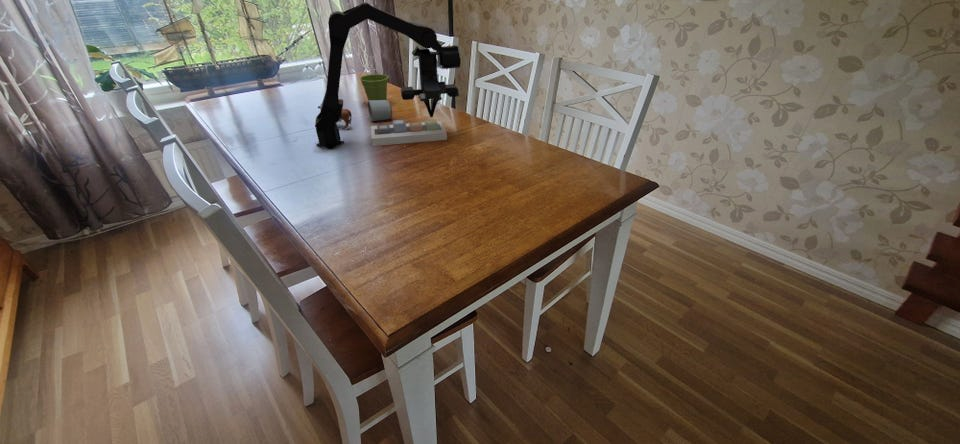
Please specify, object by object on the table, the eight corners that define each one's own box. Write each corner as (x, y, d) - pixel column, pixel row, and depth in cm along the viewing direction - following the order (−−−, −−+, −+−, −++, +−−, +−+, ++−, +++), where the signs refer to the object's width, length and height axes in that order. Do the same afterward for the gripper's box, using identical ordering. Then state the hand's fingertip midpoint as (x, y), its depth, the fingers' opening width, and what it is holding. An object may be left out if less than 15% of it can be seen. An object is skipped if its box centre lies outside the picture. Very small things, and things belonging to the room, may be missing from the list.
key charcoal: (378, 138, 127) (377, 129, 126) (378, 133, 131) (376, 125, 129) (391, 137, 128) (390, 128, 127) (390, 132, 132) (389, 124, 130)
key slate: (394, 133, 128) (393, 124, 126) (393, 128, 131) (392, 120, 129) (406, 132, 129) (405, 123, 127) (405, 127, 132) (404, 119, 130)
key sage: (426, 134, 131) (426, 125, 129) (425, 129, 134) (424, 121, 133) (438, 133, 132) (438, 124, 130) (436, 128, 135) (436, 120, 133)
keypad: (372, 146, 124) (371, 138, 123) (371, 133, 134) (370, 126, 132) (446, 139, 130) (446, 132, 128) (440, 127, 139) (440, 120, 138)
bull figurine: (326, 122, 142) (321, 101, 138) (356, 127, 139) (352, 105, 134) (318, 126, 139) (313, 104, 134) (349, 131, 135) (344, 108, 131)
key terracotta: (411, 135, 130) (410, 126, 128) (409, 131, 133) (408, 122, 131) (423, 134, 131) (422, 125, 129) (421, 130, 134) (420, 121, 132)
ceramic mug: (394, 121, 145) (391, 101, 141) (372, 124, 142) (369, 103, 138) (387, 113, 153) (385, 94, 149) (367, 116, 150) (364, 96, 146)
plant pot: (368, 100, 167) (364, 73, 161) (394, 100, 167) (391, 74, 160) (360, 108, 157) (355, 80, 151) (388, 109, 157) (384, 81, 151)
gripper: (401, 77, 113) (406, 127, 122) (461, 74, 117) (462, 122, 126) (398, 69, 122) (403, 116, 131) (454, 66, 126) (455, 112, 135)
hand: (431, 117), depth 130 cm, fingers closed
